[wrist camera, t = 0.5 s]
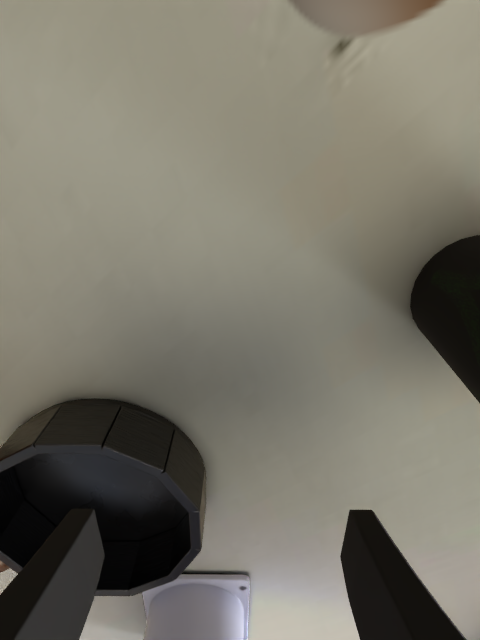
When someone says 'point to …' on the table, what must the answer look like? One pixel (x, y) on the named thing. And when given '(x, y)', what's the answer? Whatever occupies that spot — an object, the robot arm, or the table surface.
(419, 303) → the cup
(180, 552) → the pan
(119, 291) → the table surface
